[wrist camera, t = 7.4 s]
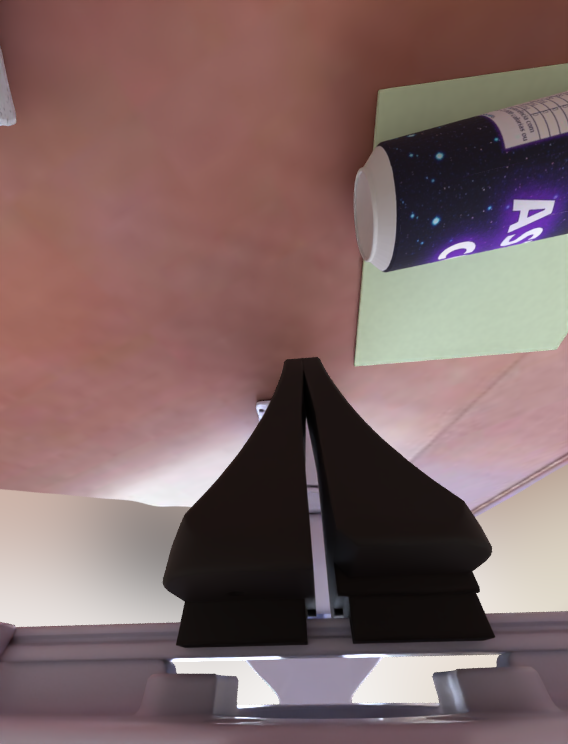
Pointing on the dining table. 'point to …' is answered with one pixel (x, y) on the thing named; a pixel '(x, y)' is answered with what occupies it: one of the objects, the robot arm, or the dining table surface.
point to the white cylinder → (5, 98)
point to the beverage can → (465, 186)
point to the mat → (471, 272)
